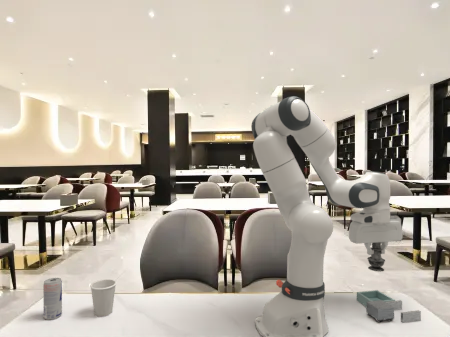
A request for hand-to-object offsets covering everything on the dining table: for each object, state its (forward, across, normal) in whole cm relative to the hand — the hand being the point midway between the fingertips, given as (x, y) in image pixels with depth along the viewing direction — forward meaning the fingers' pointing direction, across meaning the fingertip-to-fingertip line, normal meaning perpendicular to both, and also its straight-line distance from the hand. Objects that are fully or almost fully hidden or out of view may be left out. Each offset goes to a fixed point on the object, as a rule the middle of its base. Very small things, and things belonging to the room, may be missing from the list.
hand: (375, 254), depth 113 cm
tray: (+18, 0, 0) cm, 19 cm away
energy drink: (+19, +111, -16) cm, 114 cm away
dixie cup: (+19, +95, -15) cm, 98 cm away
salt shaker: (+6, 0, 0) cm, 6 cm away
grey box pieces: (+19, +1, +9) cm, 21 cm away
